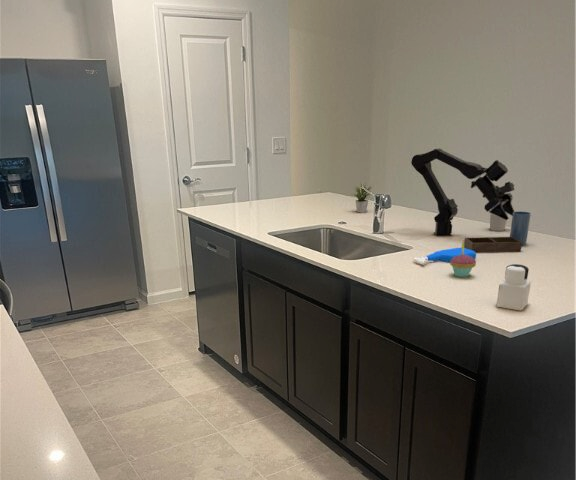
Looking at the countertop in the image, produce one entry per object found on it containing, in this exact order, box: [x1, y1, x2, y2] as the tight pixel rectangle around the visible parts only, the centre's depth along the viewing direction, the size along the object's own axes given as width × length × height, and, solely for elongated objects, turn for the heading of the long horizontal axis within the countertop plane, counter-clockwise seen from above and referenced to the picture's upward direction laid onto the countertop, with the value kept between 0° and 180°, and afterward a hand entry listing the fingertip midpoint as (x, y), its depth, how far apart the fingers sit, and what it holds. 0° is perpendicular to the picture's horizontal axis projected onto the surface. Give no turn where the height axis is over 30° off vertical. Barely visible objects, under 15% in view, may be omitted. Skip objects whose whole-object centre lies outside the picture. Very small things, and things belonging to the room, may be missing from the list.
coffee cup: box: [489, 201, 513, 232], centre depth 255 cm, size 10×10×15 cm
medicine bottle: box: [496, 263, 532, 311], centre depth 159 cm, size 7×7×12 cm
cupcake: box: [449, 239, 477, 278], centre depth 188 cm, size 9×8×12 cm
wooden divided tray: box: [463, 236, 522, 254], centre depth 223 cm, size 20×10×4 cm, turn 91°
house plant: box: [351, 181, 373, 214], centre depth 305 cm, size 14×14×16 cm
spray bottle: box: [413, 247, 477, 266], centre depth 208 cm, size 3×11×24 cm
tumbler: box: [509, 211, 532, 247], centre depth 229 cm, size 7×7×13 cm
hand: (511, 217), depth 229 cm, fingers open, 9 cm apart
